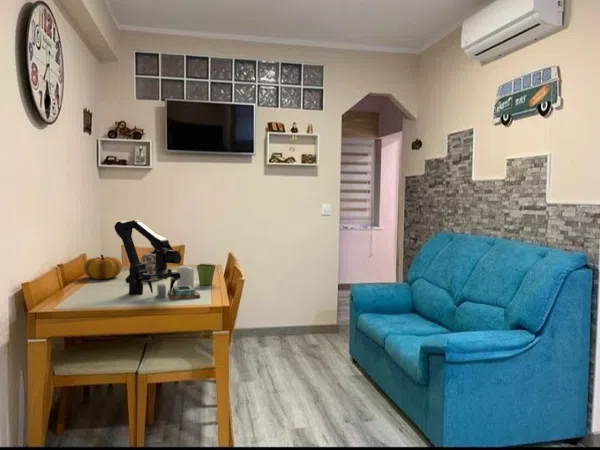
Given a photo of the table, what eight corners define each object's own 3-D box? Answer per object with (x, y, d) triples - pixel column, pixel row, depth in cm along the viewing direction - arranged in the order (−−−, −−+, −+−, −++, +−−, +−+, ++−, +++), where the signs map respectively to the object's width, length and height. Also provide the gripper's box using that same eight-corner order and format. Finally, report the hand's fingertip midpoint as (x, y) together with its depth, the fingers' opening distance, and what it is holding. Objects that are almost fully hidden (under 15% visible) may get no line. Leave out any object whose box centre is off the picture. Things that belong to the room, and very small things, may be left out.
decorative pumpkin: (122, 280, 276) (121, 255, 275) (82, 282, 268) (81, 256, 267) (122, 274, 295) (121, 251, 294) (84, 276, 286) (84, 252, 285)
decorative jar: (166, 277, 287) (166, 249, 286) (159, 280, 275) (158, 251, 274) (148, 276, 288) (148, 248, 287) (140, 280, 276) (140, 250, 275)
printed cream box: (194, 288, 255) (194, 266, 254) (189, 289, 252) (189, 267, 251) (181, 286, 260) (181, 264, 260) (175, 287, 257) (175, 265, 256)
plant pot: (211, 286, 260) (211, 267, 259) (192, 285, 262) (192, 266, 261) (219, 283, 271) (219, 264, 270) (200, 282, 274) (200, 263, 273)
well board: (171, 299, 226) (171, 291, 226) (167, 293, 241) (167, 285, 240) (200, 297, 231) (200, 290, 231) (194, 291, 246) (194, 284, 246)
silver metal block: (158, 298, 230) (158, 286, 229) (157, 295, 236) (157, 283, 236) (165, 297, 231) (165, 286, 231) (164, 294, 237) (164, 283, 237)
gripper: (143, 265, 221) (143, 297, 222) (182, 264, 229) (182, 294, 230) (141, 262, 232) (141, 292, 233) (178, 261, 239) (178, 290, 240)
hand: (161, 292), depth 233 cm, fingers open, 9 cm apart
